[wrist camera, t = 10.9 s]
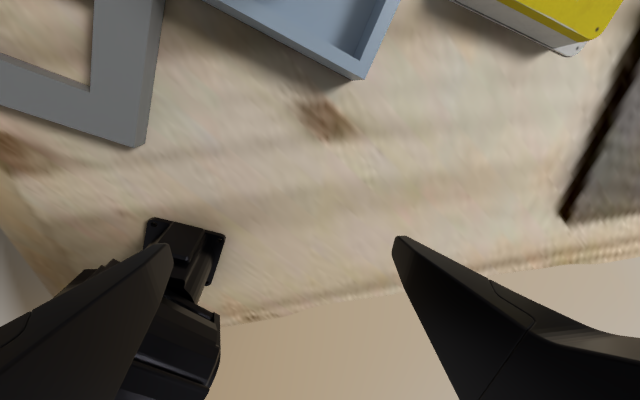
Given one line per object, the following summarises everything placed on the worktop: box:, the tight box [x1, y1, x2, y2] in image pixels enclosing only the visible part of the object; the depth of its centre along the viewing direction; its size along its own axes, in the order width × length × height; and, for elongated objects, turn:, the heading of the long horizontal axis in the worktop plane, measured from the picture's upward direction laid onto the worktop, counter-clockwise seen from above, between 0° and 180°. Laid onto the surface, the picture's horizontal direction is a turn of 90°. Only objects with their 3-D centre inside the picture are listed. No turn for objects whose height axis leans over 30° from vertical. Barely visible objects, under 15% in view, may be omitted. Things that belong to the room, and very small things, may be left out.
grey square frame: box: [0, 0, 165, 148], centre depth 13 cm, size 11×11×2 cm
